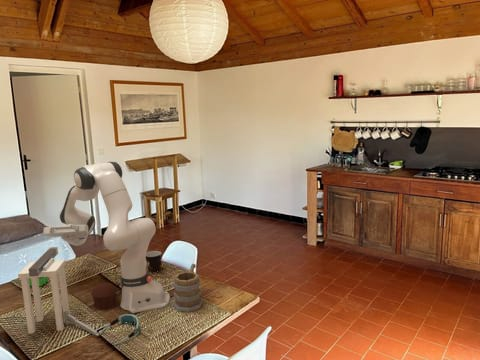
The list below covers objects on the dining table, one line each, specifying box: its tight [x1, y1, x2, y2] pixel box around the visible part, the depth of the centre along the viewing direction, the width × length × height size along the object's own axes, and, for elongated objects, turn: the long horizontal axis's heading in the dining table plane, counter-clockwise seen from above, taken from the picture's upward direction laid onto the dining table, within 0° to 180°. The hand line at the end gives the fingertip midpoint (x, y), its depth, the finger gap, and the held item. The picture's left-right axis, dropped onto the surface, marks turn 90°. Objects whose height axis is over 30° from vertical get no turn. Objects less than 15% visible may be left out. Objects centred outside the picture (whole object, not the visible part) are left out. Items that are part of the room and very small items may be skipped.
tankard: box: [172, 263, 204, 313], centre depth 174 cm, size 20×13×15 cm, turn 168°
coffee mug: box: [146, 250, 162, 273], centre depth 208 cm, size 12×9×10 cm
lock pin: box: [28, 246, 59, 277], centre depth 156 cm, size 3×24×3 cm, turn 8°
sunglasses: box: [97, 313, 141, 347], centre depth 151 cm, size 14×15×5 cm
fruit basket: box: [29, 276, 49, 287], centre depth 196 cm, size 11×9×11 cm
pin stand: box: [18, 257, 71, 335], centre depth 156 cm, size 14×12×28 cm
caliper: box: [62, 310, 100, 337], centre depth 154 cm, size 20×1×6 cm, turn 62°
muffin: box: [90, 282, 118, 311], centre depth 173 cm, size 12×11×10 cm
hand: (61, 227), depth 179 cm, fingers open, 8 cm apart
